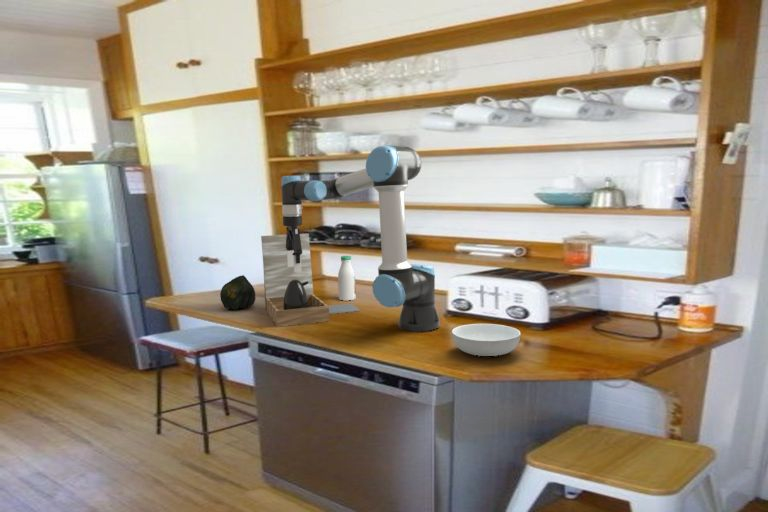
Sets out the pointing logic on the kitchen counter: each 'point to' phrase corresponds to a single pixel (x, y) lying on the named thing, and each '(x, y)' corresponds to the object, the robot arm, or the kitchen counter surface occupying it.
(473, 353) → the serving bowl
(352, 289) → the milk bottle
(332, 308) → the slate mat
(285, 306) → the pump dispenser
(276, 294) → the box
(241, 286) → the squash
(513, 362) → the kitchen counter surface
